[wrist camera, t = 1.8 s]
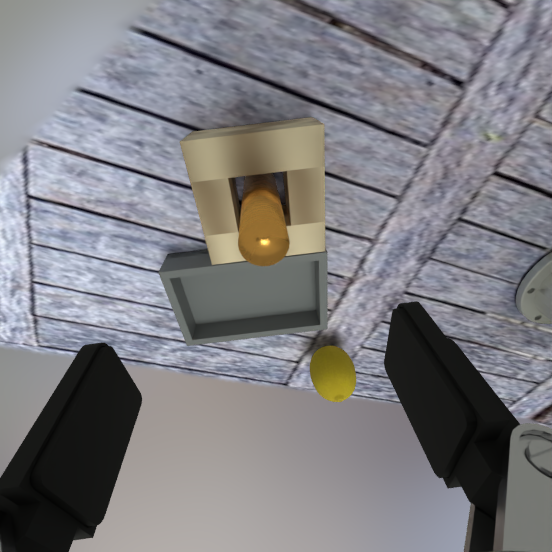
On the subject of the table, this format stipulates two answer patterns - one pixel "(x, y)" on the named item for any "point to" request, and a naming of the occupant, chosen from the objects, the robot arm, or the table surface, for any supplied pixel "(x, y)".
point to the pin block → (251, 161)
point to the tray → (245, 296)
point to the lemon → (333, 373)
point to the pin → (262, 222)
